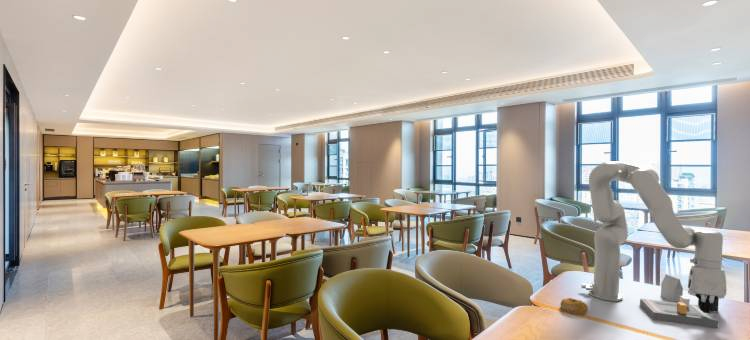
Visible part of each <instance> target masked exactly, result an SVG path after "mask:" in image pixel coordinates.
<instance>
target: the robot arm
mask: <svg viewBox="0 0 750 340" xmlns="http://www.w3.org/2000/svg"><path fill="white" fill-rule="evenodd" d="M659 179H660V176H659V174H658V173H657V172H656V171H655V170H654V169H652V168H648V167H644V166H639V165H635V164H631V163H627V162H624V161H605V162H602V163H600V164H598V165H597V166H595V167H594V168H593V169H592V170H591V172H590V174H589V177H588V185H589V192H590V199H591V206H592V213H593V217H594V219H595V220H597V221H598V222H600V223H602V226H600V227H598V228H597V230H596V231H595V233H594V235H593V236H594V237H593V242H594V243H593V244H594V265H593V266H594V267H593V268H594V271H593V282H591V283H589V284H585V283H581V289H585V290H586V291H589V292H588V293H589V295H590V296H592V297H594V298H596V299H598V300H602V301H607V302H620V301H622V300H623V297H624V296H623V295H622V294H621V293H620V292H619V291H620V288H619V287H620V275H621V274H620V272H621V271H620V269H621V251H620V250H621V249H620V245H622V244H624V243H625V242H626V241H627V239H628V237H629V232H628V231H629V230H628V226H627V225H628V224H627V219H626V212H625V210H624V207H623V205H622V204H621V203H620V202H618V201H617V200H614V191H613V188H612V186H611V182H612V181H613V182H614V181H618V182H622V183H626V184H630V185H631V187H632V188H633V190H634V191H635V192H636V194H637V196H639V198H640V199H641V201H642V202H643V203H644V205H645V206H646V208H647V210H648V212H649V215H650V216H651V217H650V218H652V221H653V223H654V225H655V227H656V228H657V229H658V232H659V233H660V234H661V235H662V237H663V239H664V240H665V242H666V243H668V244H669V245H670V246H672V247H673V248H675V249H687V248H688V247H690V246H694V256H693V259H692V258H690V260H689V262H690V263H692V264H691V267H690V270H689V274H688V280H687V281H688V282H687V288H688V290H687V294H689V295H691V296H693V297H696V298H697V299H699V308H700V310H701V311H702V312H704V313H709V314H711V312H712V311H711V303H713V302H714V301H715V300H716V299H725V296H727V289H728V288H727V279H726V273H725V269H723V267H722V262H723V261H722V260H723V243H724V235H723V233H721V232H719V231H716V230H713V229H712V230H709V229H700V228H699V229H698V228H696V227H691V226H686V225H682V223H681V222H680V220H679V219H678V217H677V216H676V214H675V211H674V207H673V202H672V199H671V197H670V196H669V194H668V193H667V192H666V191H665V189H664V188H663V186H662V185H661V184H660V182H659V181H660V180H659ZM705 295H706V299H705Z"/></svg>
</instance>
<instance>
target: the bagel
mask: <svg viewBox="0 0 750 340" xmlns="http://www.w3.org/2000/svg"><path fill="white" fill-rule="evenodd" d="M560 308H561V310H563V311H565V312H568V313H569V314H573V315H579V316H580V315H585V314H586V313H588V311H589V308H588V305H587V303H586V302H584V301H582V300H579V299H576V298H571V297H568V298H563V299H562V300H561V301H560Z"/></svg>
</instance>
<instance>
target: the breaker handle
mask: <svg viewBox="0 0 750 340" xmlns="http://www.w3.org/2000/svg"><path fill="white" fill-rule="evenodd" d="M676 303H677V311H678V312H679V313H680V314H687V305H686V304H684V303H682V302H676Z"/></svg>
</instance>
